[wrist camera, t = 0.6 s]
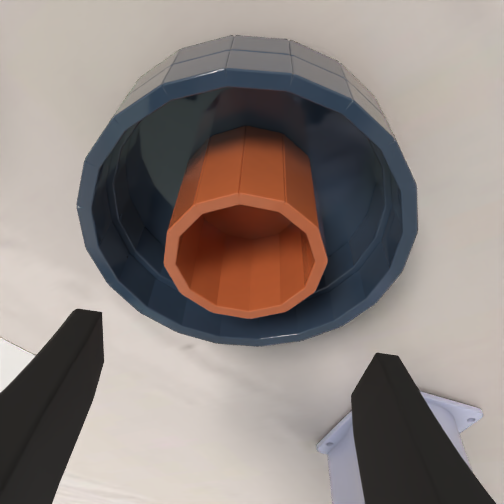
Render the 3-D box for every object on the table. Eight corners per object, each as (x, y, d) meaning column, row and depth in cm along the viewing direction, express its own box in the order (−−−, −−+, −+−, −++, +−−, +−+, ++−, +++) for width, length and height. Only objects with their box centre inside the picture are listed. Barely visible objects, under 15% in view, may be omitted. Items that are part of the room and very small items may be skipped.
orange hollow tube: (295, 248, 22) (300, 328, 18) (179, 226, 21) (158, 304, 17) (332, 143, 18) (348, 214, 14) (194, 113, 17) (172, 179, 14)
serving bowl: (312, 308, 25) (318, 372, 22) (90, 239, 22) (59, 300, 19) (455, 109, 17) (496, 161, 14) (147, -30, 15) (112, -5, 12)
